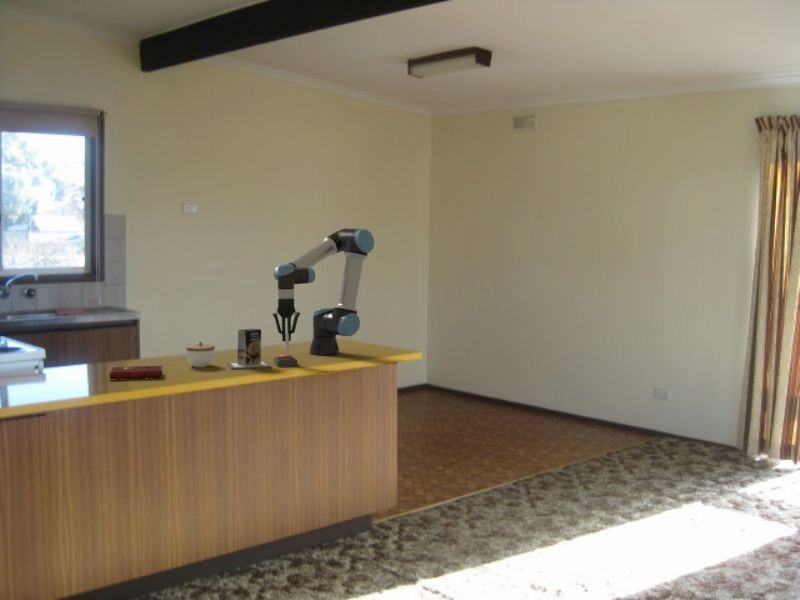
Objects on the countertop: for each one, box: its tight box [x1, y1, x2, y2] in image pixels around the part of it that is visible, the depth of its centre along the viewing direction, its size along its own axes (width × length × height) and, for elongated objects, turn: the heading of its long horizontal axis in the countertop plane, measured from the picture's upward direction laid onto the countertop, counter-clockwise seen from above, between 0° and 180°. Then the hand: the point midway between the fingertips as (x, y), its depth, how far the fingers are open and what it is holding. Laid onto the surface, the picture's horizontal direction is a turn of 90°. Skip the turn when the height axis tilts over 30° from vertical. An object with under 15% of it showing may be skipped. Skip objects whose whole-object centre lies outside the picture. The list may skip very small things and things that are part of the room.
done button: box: [279, 354, 293, 360], centre depth 370 cm, size 6×6×3 cm
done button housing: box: [273, 356, 298, 367], centre depth 370 cm, size 9×9×3 cm
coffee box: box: [237, 328, 262, 366], centre depth 364 cm, size 9×6×16 cm
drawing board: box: [226, 361, 272, 370], centre depth 364 cm, size 18×13×1 cm
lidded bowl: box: [185, 341, 216, 368], centre depth 362 cm, size 13×13×11 cm
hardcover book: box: [108, 365, 164, 380], centre depth 335 cm, size 12×21×4 cm, turn 105°
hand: (286, 348), depth 370 cm, fingers closed
